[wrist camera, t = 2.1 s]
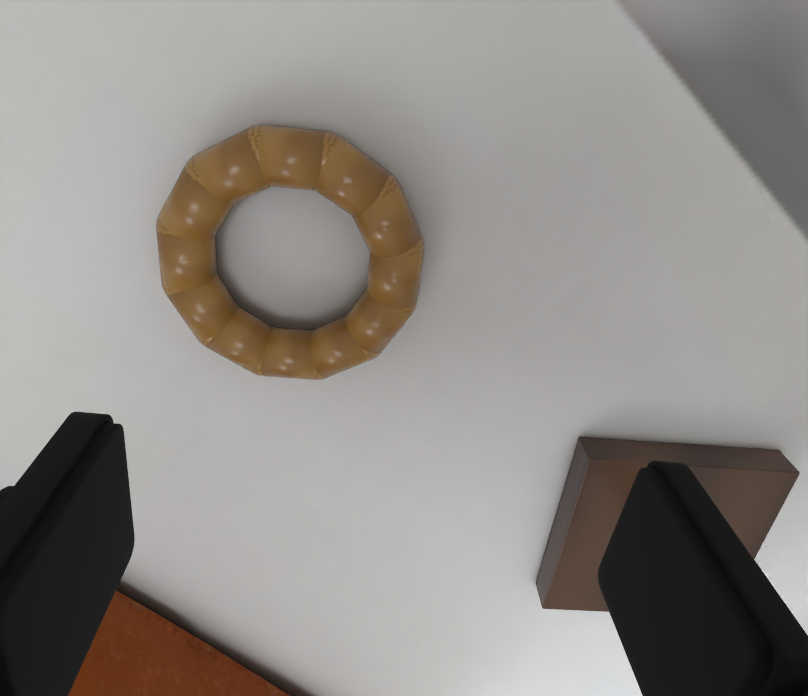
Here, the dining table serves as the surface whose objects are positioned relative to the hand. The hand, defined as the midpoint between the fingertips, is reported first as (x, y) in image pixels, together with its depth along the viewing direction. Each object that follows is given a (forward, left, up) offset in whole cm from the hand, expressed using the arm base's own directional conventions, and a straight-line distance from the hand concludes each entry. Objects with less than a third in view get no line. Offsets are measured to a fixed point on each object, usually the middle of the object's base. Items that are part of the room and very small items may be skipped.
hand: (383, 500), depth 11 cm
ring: (+3, 0, -11) cm, 12 cm away
